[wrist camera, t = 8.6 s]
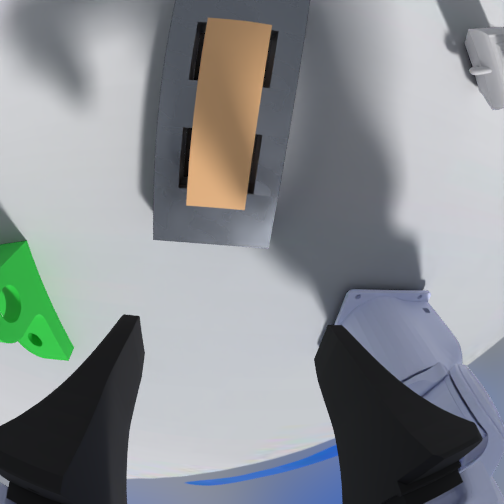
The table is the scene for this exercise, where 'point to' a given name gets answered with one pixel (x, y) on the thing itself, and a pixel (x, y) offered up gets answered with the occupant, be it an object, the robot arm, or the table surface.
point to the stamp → (488, 62)
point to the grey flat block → (268, 127)
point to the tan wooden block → (226, 112)
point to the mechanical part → (28, 306)
